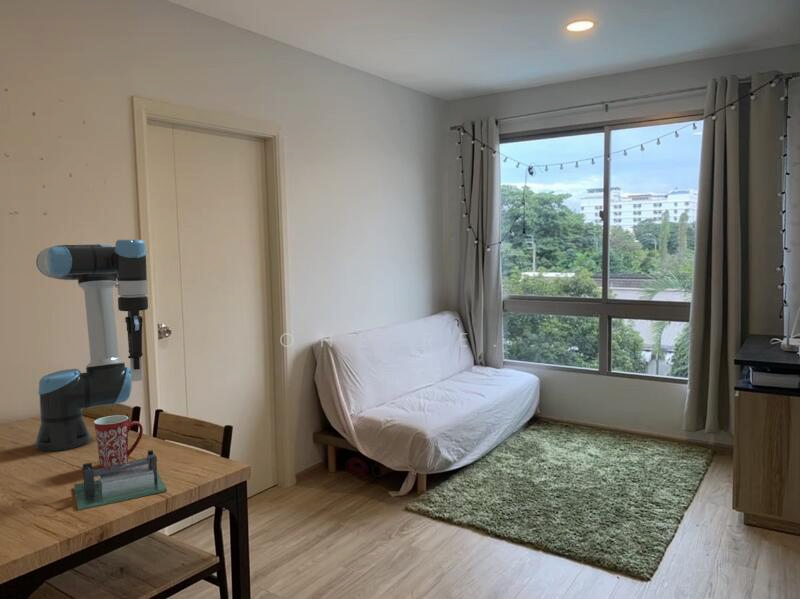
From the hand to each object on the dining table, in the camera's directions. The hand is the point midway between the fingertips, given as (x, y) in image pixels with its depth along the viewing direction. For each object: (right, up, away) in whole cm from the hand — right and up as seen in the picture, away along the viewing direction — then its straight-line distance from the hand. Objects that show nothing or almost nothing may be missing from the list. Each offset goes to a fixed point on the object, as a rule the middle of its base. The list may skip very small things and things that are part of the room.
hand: (136, 380), depth 165 cm
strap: (+2, -21, -12) cm, 25 cm away
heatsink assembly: (+1, -27, -12) cm, 29 cm away
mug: (-8, -25, +7) cm, 27 cm away
